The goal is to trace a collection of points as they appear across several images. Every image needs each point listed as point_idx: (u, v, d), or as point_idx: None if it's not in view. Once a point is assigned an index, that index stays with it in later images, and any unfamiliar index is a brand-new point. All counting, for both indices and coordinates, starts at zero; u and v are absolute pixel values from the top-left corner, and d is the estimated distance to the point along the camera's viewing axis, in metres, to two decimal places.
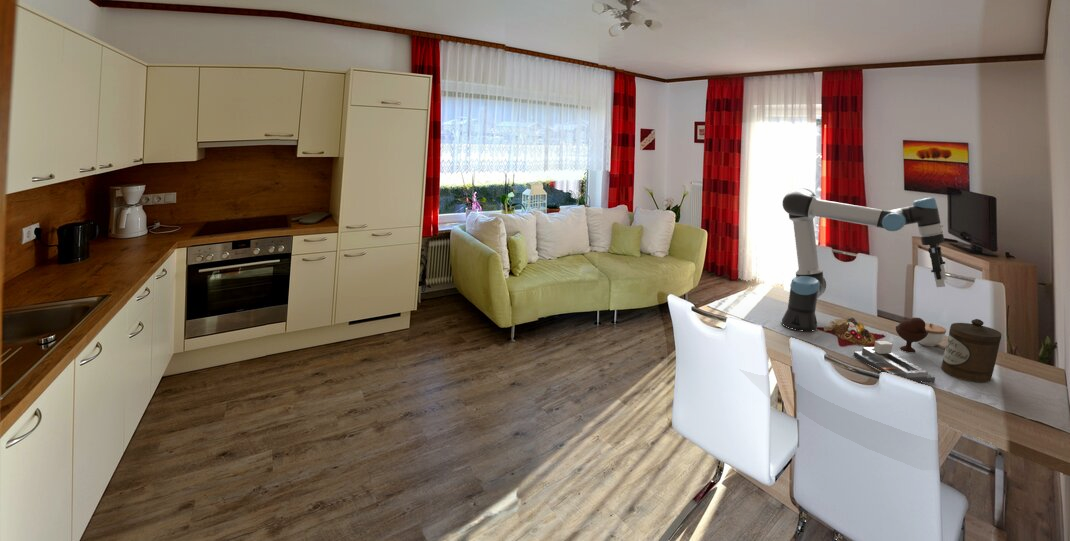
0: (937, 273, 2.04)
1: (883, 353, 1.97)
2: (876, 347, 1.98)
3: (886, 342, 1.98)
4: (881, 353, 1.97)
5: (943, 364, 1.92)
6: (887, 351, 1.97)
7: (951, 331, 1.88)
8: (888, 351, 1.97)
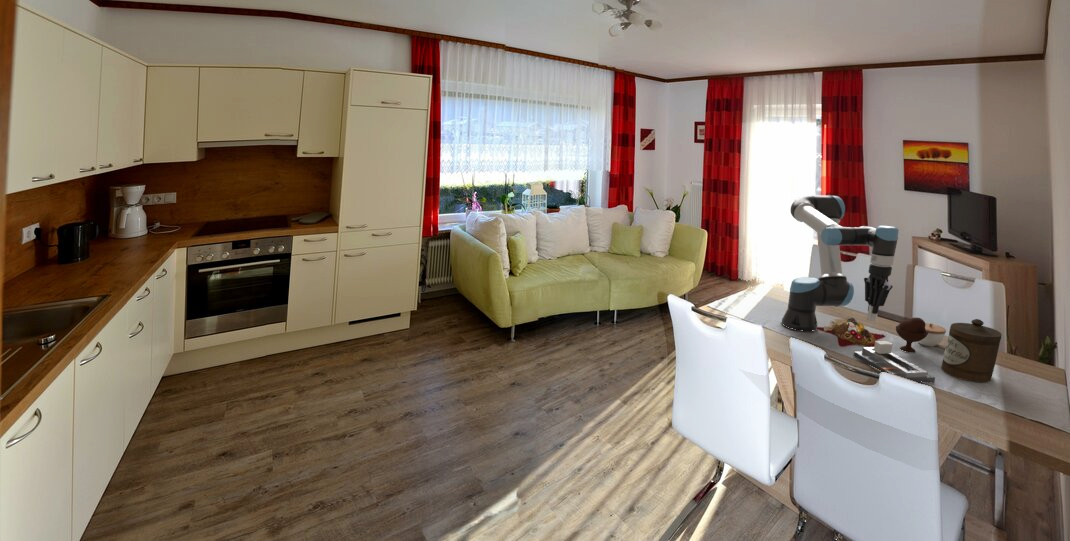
0: None
1: (883, 353, 1.97)
2: (876, 347, 1.98)
3: (886, 342, 1.98)
4: (881, 353, 1.97)
5: (943, 364, 1.92)
6: (887, 351, 1.97)
7: (951, 331, 1.88)
8: (888, 351, 1.97)
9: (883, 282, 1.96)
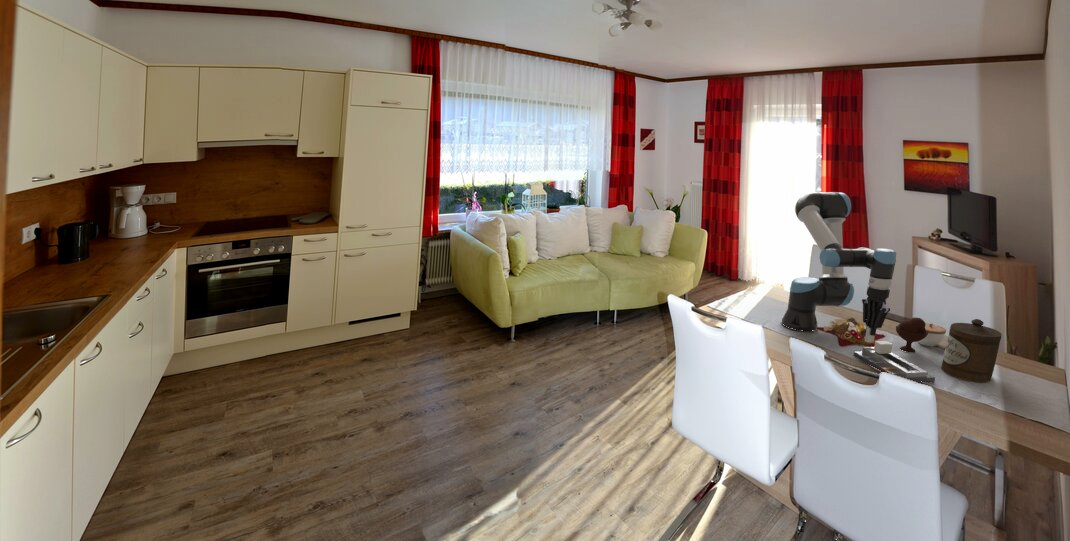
0: None
1: (883, 353, 1.97)
2: (876, 347, 1.98)
3: (886, 342, 1.98)
4: (881, 353, 1.97)
5: (943, 364, 1.92)
6: (887, 351, 1.97)
7: (951, 331, 1.88)
8: (888, 351, 1.97)
9: (881, 305, 1.98)
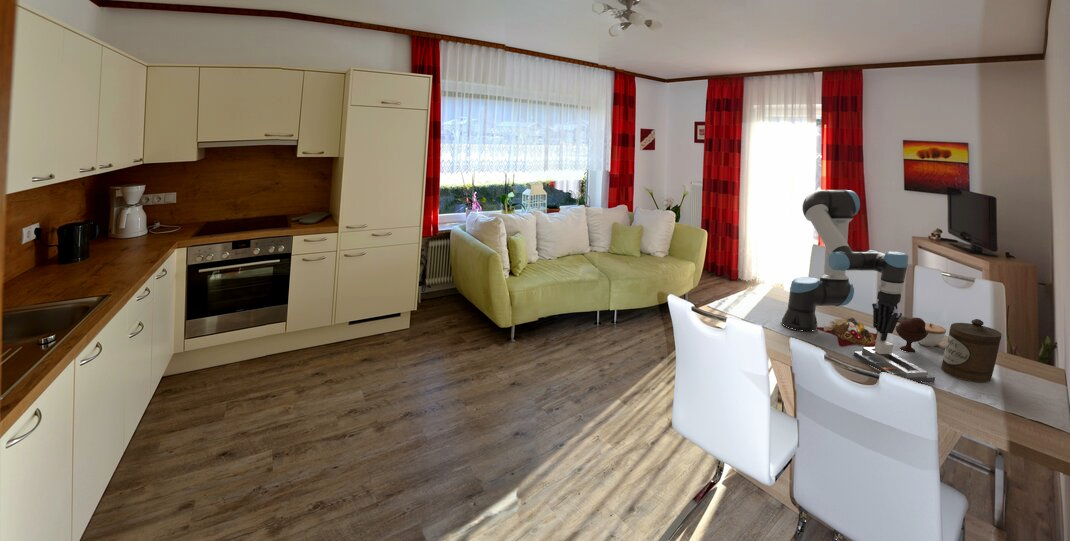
0: None
1: (884, 353, 1.97)
2: (877, 348, 1.98)
3: (887, 342, 1.98)
4: (882, 353, 1.97)
5: (943, 364, 1.92)
6: (888, 351, 1.97)
7: (951, 331, 1.88)
8: (889, 351, 1.97)
9: (892, 309, 1.92)
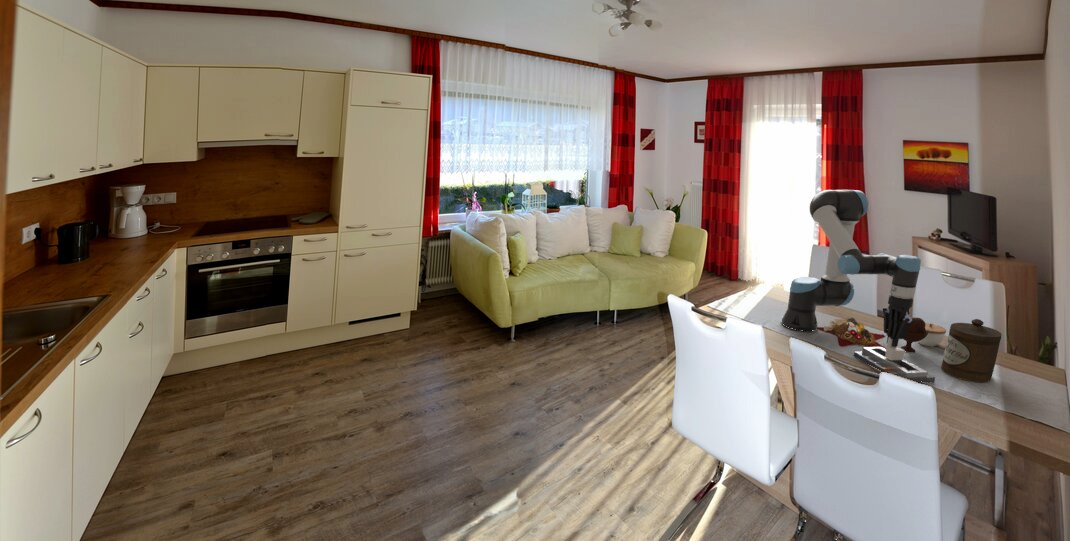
0: None
1: (895, 360, 1.92)
2: (888, 354, 1.93)
3: (898, 348, 1.92)
4: (893, 360, 1.91)
5: (943, 364, 1.92)
6: (899, 358, 1.91)
7: (951, 331, 1.88)
8: (900, 358, 1.91)
9: (904, 314, 1.87)
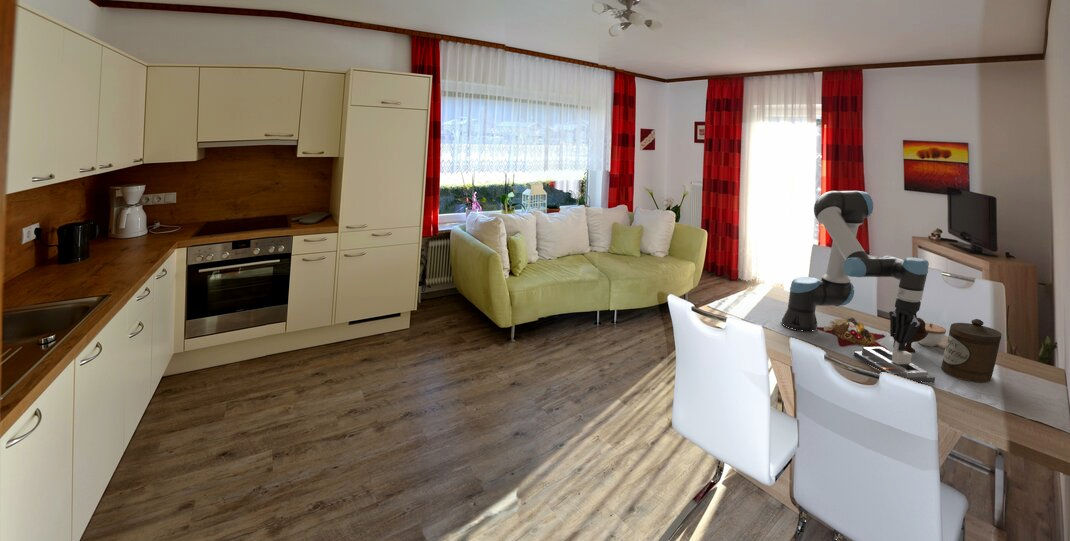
0: None
1: (902, 364, 1.88)
2: (895, 358, 1.89)
3: (905, 352, 1.89)
4: (900, 364, 1.88)
5: (943, 364, 1.92)
6: (906, 362, 1.88)
7: (951, 331, 1.88)
8: (907, 361, 1.88)
9: (911, 318, 1.83)
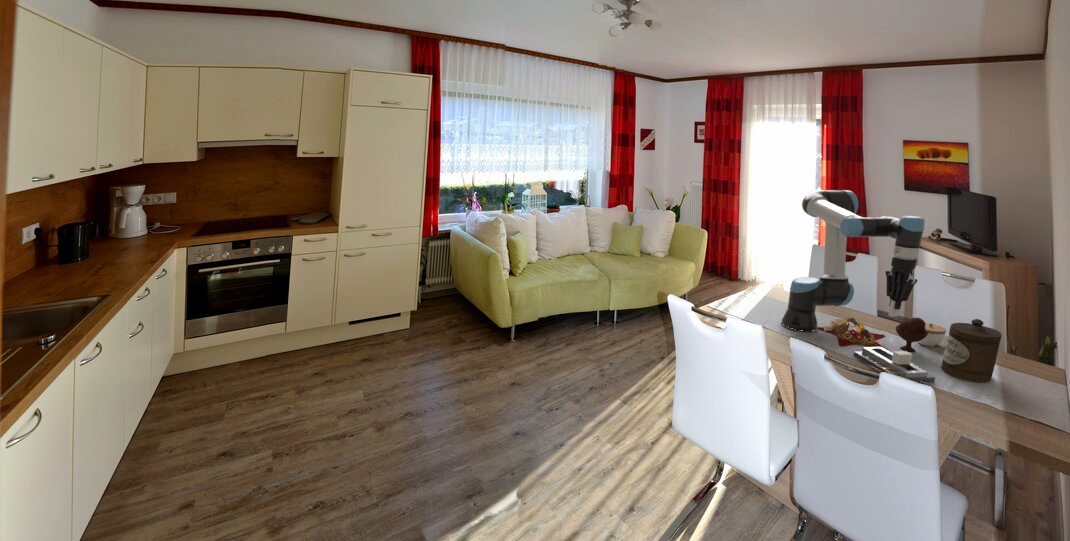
0: None
1: (902, 364, 1.88)
2: (895, 358, 1.89)
3: (905, 352, 1.89)
4: (900, 364, 1.88)
5: (943, 364, 1.92)
6: (906, 362, 1.88)
7: (951, 331, 1.88)
8: (907, 362, 1.88)
9: (907, 276, 1.85)
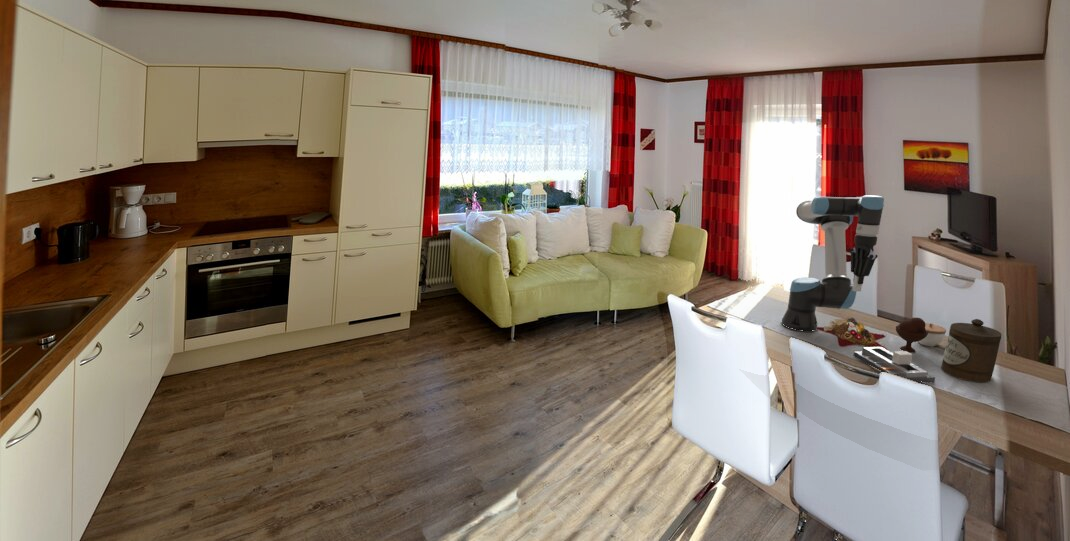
0: None
1: (902, 364, 1.88)
2: (895, 358, 1.89)
3: (905, 352, 1.89)
4: (900, 364, 1.88)
5: (943, 364, 1.92)
6: (906, 362, 1.88)
7: (951, 331, 1.88)
8: (907, 362, 1.88)
9: (868, 252, 1.96)
